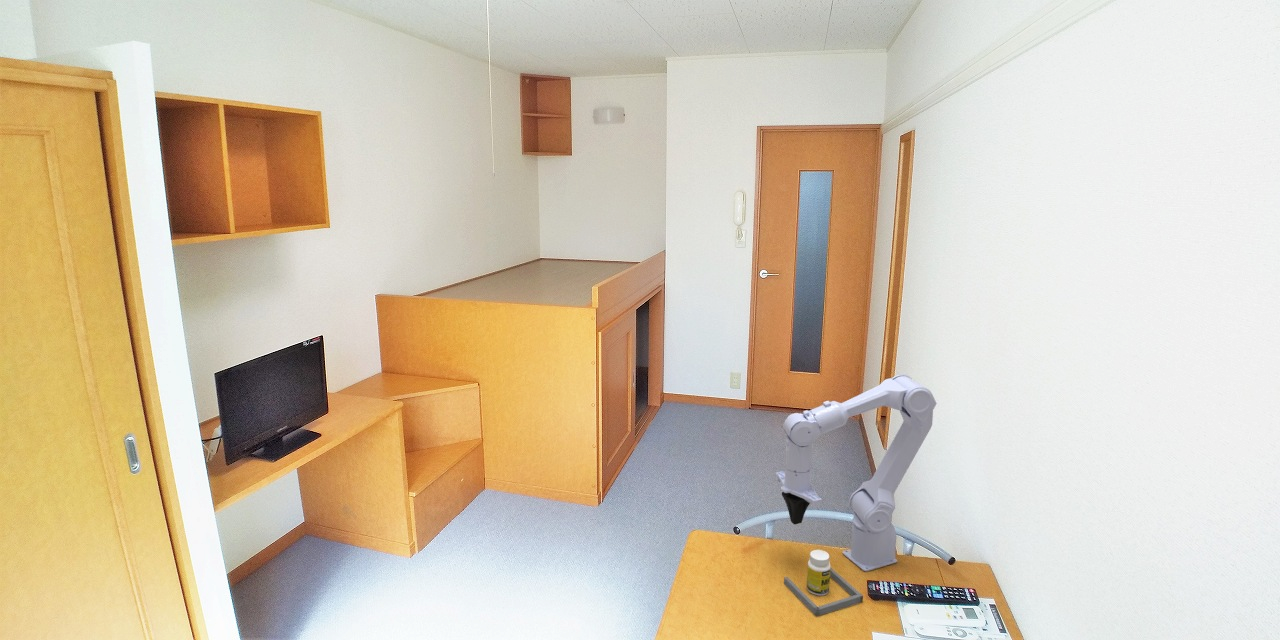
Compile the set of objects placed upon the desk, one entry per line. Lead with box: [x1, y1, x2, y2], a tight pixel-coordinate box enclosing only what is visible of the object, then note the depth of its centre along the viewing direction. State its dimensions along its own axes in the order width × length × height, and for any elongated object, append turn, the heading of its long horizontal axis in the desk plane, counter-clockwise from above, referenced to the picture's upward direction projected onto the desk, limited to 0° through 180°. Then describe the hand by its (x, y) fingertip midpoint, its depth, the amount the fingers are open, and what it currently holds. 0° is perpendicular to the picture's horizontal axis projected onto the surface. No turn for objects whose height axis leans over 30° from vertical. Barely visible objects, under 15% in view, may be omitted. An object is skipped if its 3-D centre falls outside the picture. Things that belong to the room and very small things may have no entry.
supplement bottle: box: [806, 549, 832, 597], centre depth 136 cm, size 5×5×8 cm
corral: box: [783, 567, 864, 618], centre depth 135 cm, size 12×12×2 cm
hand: (796, 522), depth 144 cm, fingers closed
